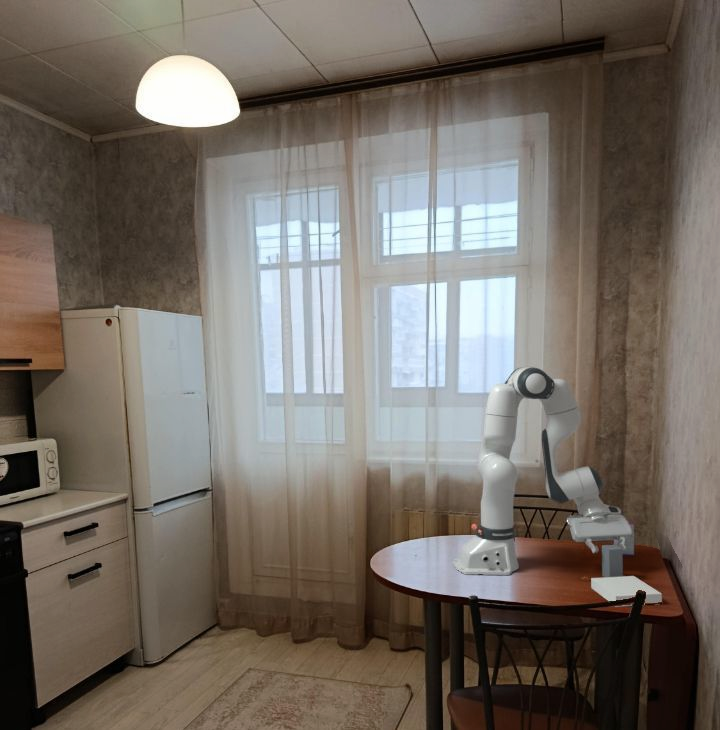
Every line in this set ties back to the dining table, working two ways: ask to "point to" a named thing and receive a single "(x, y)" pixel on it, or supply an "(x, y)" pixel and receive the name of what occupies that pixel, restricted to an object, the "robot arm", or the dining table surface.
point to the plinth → (624, 589)
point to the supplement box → (628, 543)
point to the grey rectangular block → (612, 561)
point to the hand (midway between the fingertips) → (609, 551)
